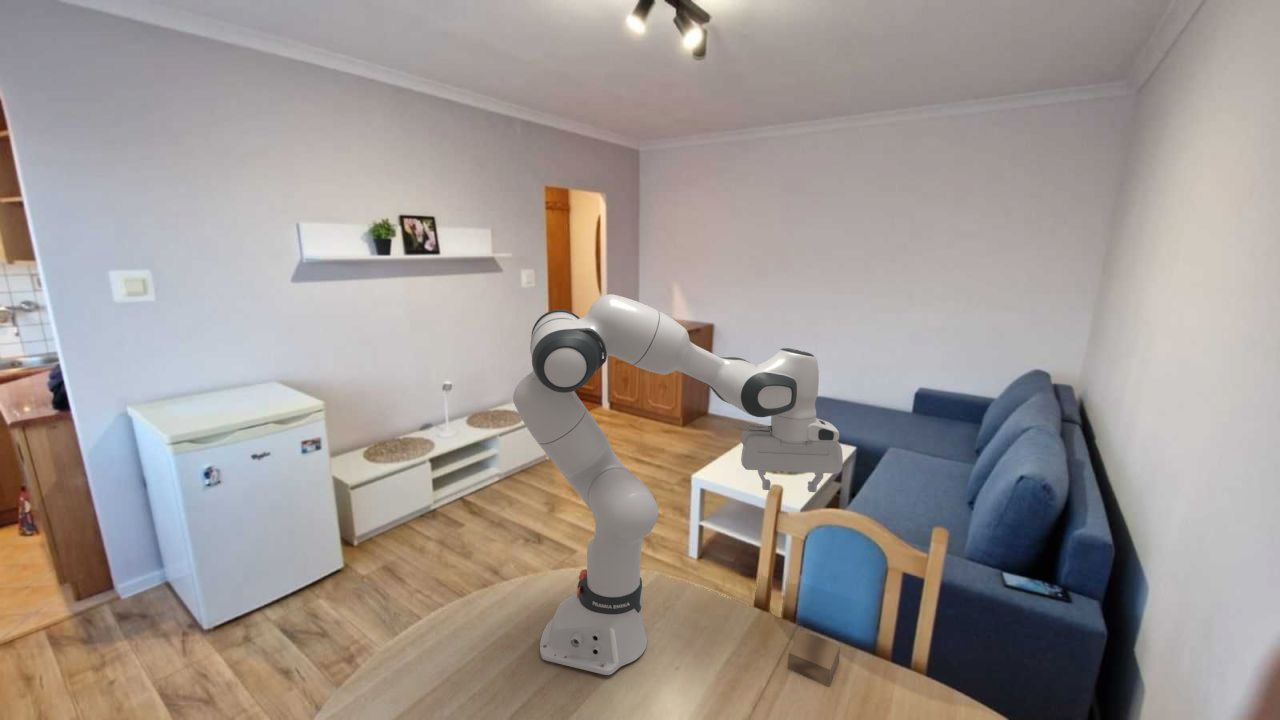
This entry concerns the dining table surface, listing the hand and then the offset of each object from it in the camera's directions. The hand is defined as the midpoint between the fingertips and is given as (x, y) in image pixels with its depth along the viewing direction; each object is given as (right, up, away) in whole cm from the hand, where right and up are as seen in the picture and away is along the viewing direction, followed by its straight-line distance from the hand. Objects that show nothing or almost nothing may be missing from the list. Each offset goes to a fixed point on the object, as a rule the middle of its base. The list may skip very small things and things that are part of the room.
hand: (788, 490), depth 110 cm
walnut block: (+4, -35, -4) cm, 35 cm away
